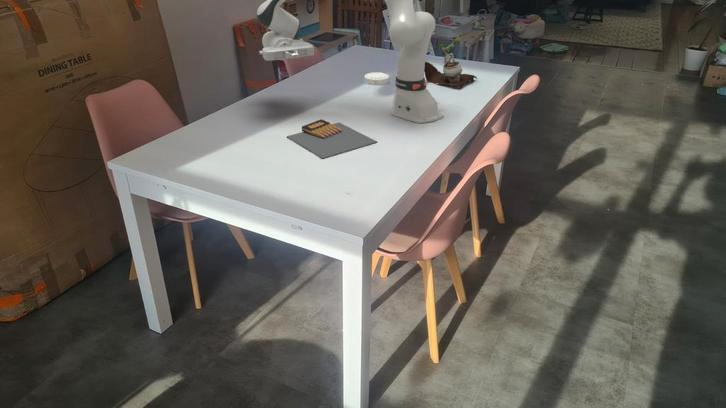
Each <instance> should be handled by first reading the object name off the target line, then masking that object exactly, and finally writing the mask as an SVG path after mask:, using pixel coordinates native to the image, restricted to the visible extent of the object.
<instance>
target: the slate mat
mask: <svg viewBox="0 0 726 408" xmlns="http://www.w3.org/2000/svg"><path fill="white" fill-rule="evenodd" d="M331 124H332V125H334V126H336V127H338V128H340V129H341V130H342V131H339V133H336V132H335V133H336V134H332V135H329V137H326V136H325V137H326V138H322V137H319V136H315V135H313V134H312V135H311V134H308V133H306V132H303V131H301V132H297V133H294V134H290V135H286V138H287V139H289V140H290V141H292V142H294V143H296V144H297V145H299V146H300V147H302V148H303V149H305V150H306V151H309V152H310V153H312V154H314V155H315V156H317V157H318V158H320V159H322V160H325V159H329V158H332V157H335V156H338V155H342V154H344V153H347V152H348V153H349V152H351V151H353V150H358V149H360V148H364V147H367V146H370V145H371V146H372V145H375V144H377V143H378V141H377V140H376V139H373V138H371V137H369V136H367V135H365V134H363V133H361V132H360V131H357V130H355V129H353V128H351V127H349V126H347V125H345V124H343V123H341V122H339V121H338V122H335V123H331Z"/></svg>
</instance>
